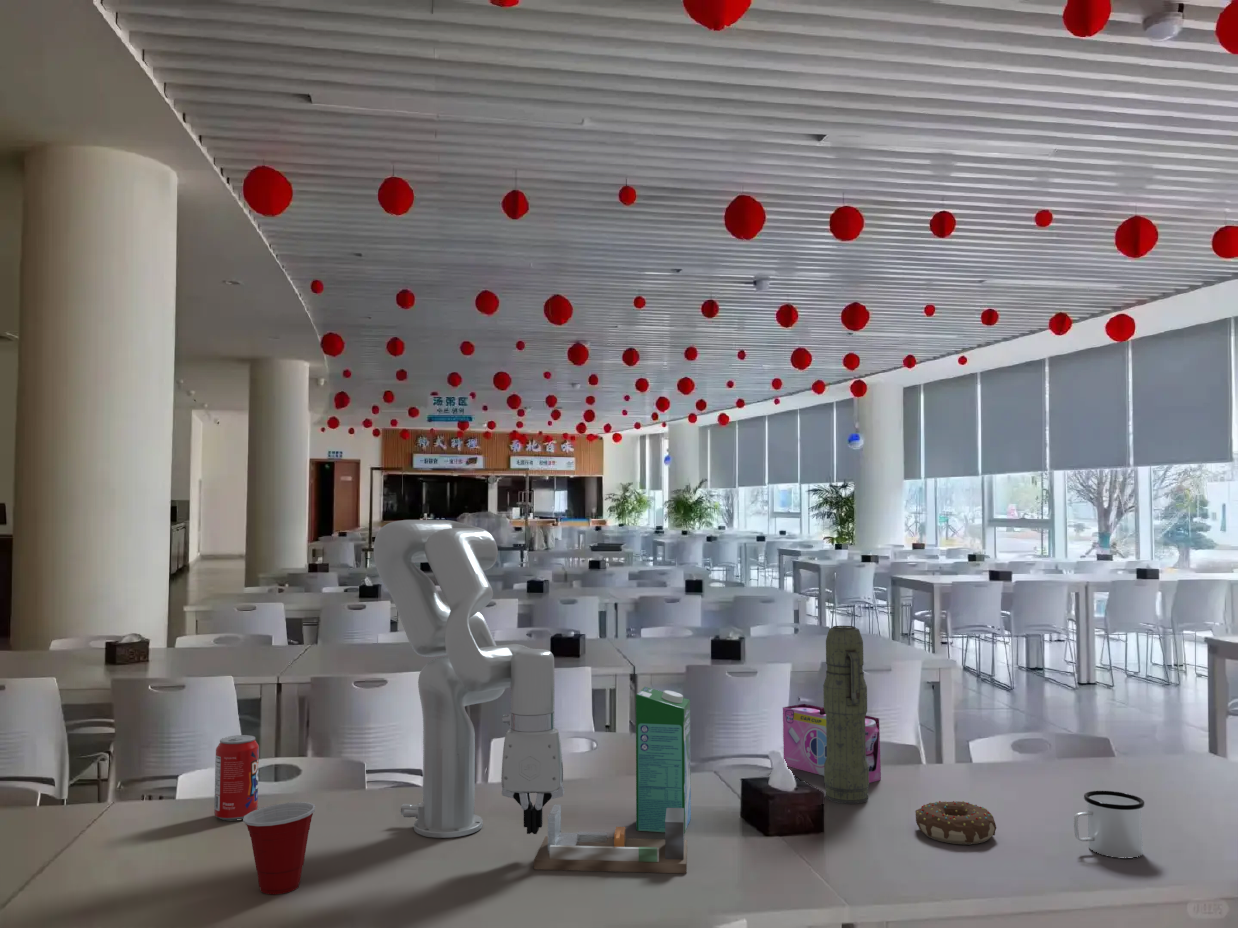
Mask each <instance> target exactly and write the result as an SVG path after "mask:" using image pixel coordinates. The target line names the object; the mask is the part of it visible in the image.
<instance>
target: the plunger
mask: <svg viewBox="0 0 1238 928" xmlns="http://www.w3.org/2000/svg"><path fill="white" fill-rule="evenodd" d="M561 816H562V804H561V803H560V804H553V806H552V808H551V809H550V811H549V813H548V815H547V836H548V853H550V845H568V846H578V845H579V842H605V843H607V838H608V832H607V831H606V832H605V831H603V832H602V831H577V832H562V817H561Z"/></svg>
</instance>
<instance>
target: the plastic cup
mask: <svg viewBox="0 0 1238 928" xmlns="http://www.w3.org/2000/svg"><path fill="white" fill-rule="evenodd" d="M315 810H316V804H314V803H313V802H308V801H307V802H305V801H292V802H290V801H289V802H282V803H277V804H276V803H275V804H272V805H267V806H264V807H260V808H258V809H257V810H255V811H252V812H250V813H248V814H247V815H245V816H244V818H243V820H242V822H243V823H244V824H245V825H246V827H247V831H248V832H249V837H250V840H251V845H252V846H251V847H252V854H253V860H254V864H255V869H256V870H255V871H257V872H256V873H257V880H258V887H259V889H260V892H262V893H263V894H265V895H281V894H282V895H283V894H287V893H290V892H294V891H295V890H297V888H299V886H300V885H299V884H300V882H301V876H302V871H303V866H304V862H305V856H306V849H307V846H308V845H307V844H308V838H309V831H310V829H311V822H312V817H313V815H314V813H315Z"/></svg>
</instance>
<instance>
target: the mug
mask: <svg viewBox="0 0 1238 928" xmlns="http://www.w3.org/2000/svg"><path fill="white" fill-rule="evenodd" d="M1083 799H1084V801H1085V802H1086V803H1087V804H1086V805H1087V806H1086V807H1087V811H1083V812H1082V811H1081V812H1077V813H1075V814H1074V817H1073V828H1074V836H1075V838H1076V839H1077V840H1078V841H1079V842H1088V844H1087V845H1088V848H1089V850H1091V851H1092V850H1093V851H1092V852H1093V853H1096V852H1097V853H1096V854H1098V853H1099V854H1098V855H1100V854H1104V855H1108V856H1113V857H1124V858H1125V857H1126V858H1128V857H1137V856H1139V857H1141V856H1143V853H1144V851H1143V822H1142V821H1143V820H1142V819H1143V818H1142V809H1143V808H1144V807H1145V805H1146V804H1145V802H1146V801H1145V800H1144V799H1143V798H1141V797H1139V796H1137V795H1134V794H1130V793H1126V792H1120V791H1113V790H1091V791H1087V792H1085V793H1084V794H1083ZM1081 816H1087V837H1080V834H1079V817H1081ZM1140 855H1141V856H1140ZM1137 858H1138V857H1137Z"/></svg>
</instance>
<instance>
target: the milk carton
mask: <svg viewBox="0 0 1238 928" xmlns="http://www.w3.org/2000/svg"><path fill="white" fill-rule="evenodd" d="M691 768H692V767H691V700H690V699H688V698H685V697H684V695H683V694H682V693H679V692H677V691H673V690H670V689H669V690H668V689H666V690H665V689H664V690H663V691H661V690H659V689H658V690H657V689H654V688H651V687H648V686H644V687H643V688H642V689H641V690H639V691H638V692H637V693H636V695H635V789H636V790H635V796H636V797H635V799H636V800H635V807H636V808H635V819H636V821H635V822H636V824H635V825H636V826H635V827H636V829H635V830H636V831H638V832H653V833H665V818H666V809H667V808H684V834H685V833H686V831H687V828H688V826H689V824H690V822H691V819H692V814H691V813H692V812H691V810H692V808H691V807H692V803H691V802H692V801H691V800H692V792H691V791H692V789H691V786H692V785H691V783H692V779H691V774H692V773H691Z"/></svg>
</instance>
